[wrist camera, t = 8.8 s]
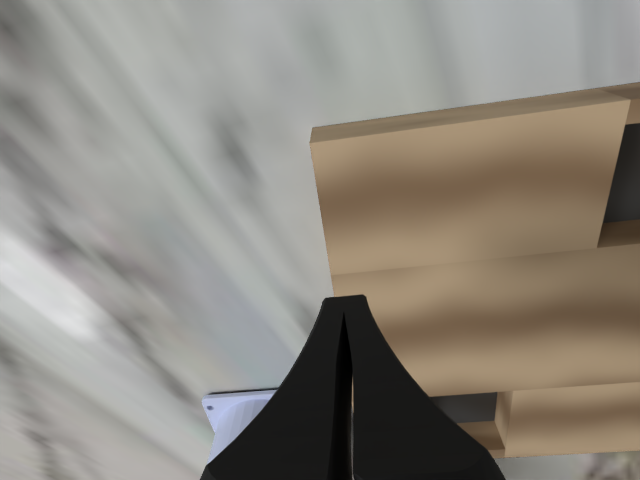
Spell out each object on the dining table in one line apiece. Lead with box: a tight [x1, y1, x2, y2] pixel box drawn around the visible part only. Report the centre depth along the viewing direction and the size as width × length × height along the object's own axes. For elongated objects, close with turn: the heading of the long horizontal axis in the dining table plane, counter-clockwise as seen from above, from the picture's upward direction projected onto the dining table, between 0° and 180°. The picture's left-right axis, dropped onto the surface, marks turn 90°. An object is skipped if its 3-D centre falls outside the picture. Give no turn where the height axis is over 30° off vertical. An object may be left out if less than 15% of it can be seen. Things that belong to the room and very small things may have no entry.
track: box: [310, 82, 640, 458], centre depth 22 cm, size 24×30×4 cm
